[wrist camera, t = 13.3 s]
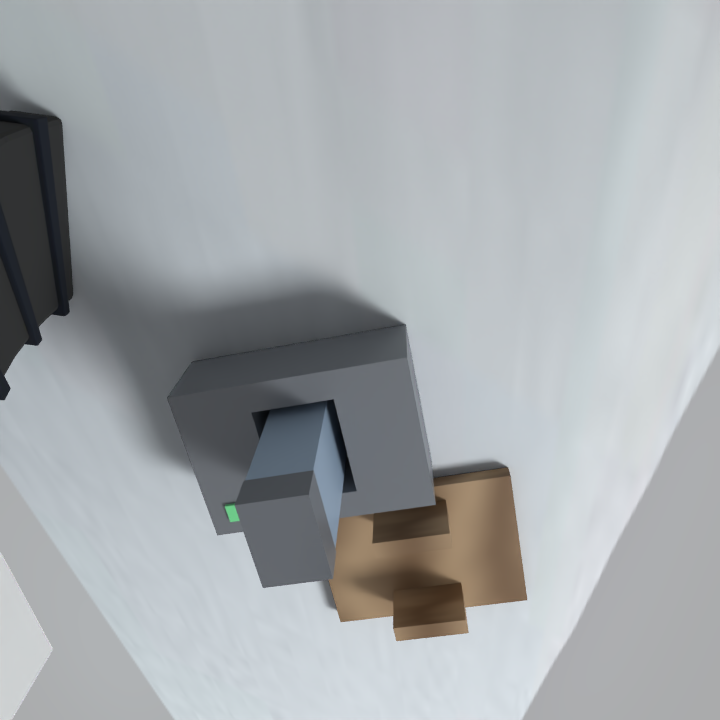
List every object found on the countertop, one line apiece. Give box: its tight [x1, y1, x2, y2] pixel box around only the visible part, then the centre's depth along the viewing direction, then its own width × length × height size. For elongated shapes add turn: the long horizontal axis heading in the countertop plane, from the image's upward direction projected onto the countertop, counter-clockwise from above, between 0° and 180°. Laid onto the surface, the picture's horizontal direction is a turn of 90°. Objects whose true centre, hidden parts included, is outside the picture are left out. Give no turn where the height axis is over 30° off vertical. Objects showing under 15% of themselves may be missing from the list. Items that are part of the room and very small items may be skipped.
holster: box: [329, 467, 527, 641], centre depth 45 cm, size 14×11×4 cm
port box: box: [167, 325, 436, 535], centre depth 41 cm, size 14×10×5 cm
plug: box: [235, 399, 347, 588], centre depth 37 cm, size 4×5×12 cm
